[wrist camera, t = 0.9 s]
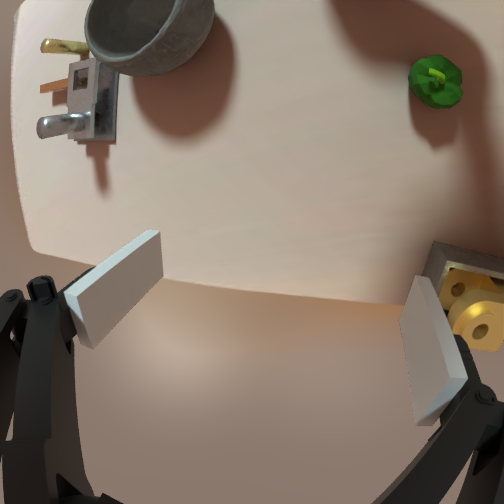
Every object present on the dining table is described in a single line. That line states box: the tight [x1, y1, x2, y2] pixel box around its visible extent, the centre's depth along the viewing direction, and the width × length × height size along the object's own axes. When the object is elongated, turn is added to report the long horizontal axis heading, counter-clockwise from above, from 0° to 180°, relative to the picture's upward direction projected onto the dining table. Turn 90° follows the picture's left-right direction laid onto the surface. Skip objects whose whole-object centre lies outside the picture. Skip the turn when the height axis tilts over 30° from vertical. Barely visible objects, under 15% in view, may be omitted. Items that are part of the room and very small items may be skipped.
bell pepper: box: [408, 55, 463, 109], centre depth 33 cm, size 8×8×10 cm
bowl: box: [84, 0, 214, 76], centre depth 36 cm, size 21×21×15 cm
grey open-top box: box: [422, 241, 504, 341], centre depth 45 cm, size 14×24×8 cm, turn 84°
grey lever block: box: [36, 58, 119, 141], centre depth 46 cm, size 18×22×15 cm
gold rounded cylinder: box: [40, 39, 89, 55], centre depth 42 cm, size 3×3×12 cm
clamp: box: [438, 267, 504, 352], centre depth 41 cm, size 20×9×16 cm, turn 84°
